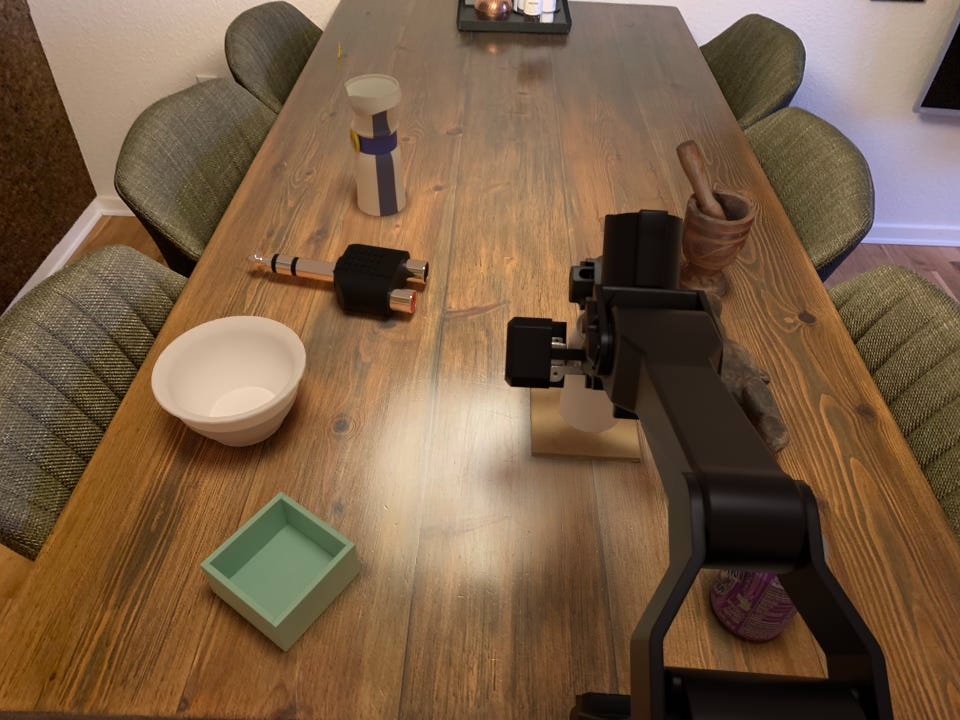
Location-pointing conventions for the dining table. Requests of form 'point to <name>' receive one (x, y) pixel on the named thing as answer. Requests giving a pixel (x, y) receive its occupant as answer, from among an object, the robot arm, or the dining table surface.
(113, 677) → the dining table surface
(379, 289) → the audio adapter
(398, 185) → the water bottle
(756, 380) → the sculpture
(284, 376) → the bowl
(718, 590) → the beverage can
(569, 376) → the can
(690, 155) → the mortar and pestle
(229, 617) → the dining table surface
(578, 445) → the board
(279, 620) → the tote
